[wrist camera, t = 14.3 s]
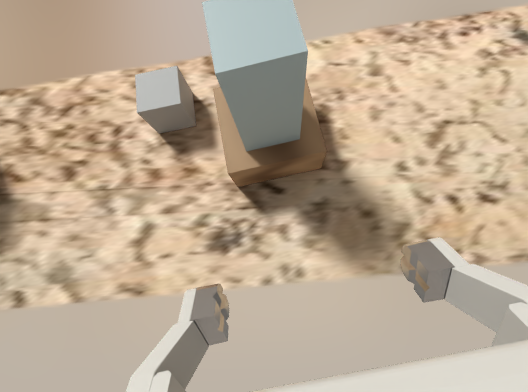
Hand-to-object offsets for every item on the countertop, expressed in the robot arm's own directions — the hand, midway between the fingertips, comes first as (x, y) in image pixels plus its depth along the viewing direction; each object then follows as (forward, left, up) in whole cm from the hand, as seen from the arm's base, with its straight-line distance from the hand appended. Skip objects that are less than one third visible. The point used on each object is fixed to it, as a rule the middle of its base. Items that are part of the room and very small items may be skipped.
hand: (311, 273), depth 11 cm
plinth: (0, +12, -11) cm, 16 cm away
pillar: (0, +12, -7) cm, 14 cm away
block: (-9, +18, -11) cm, 23 cm away
